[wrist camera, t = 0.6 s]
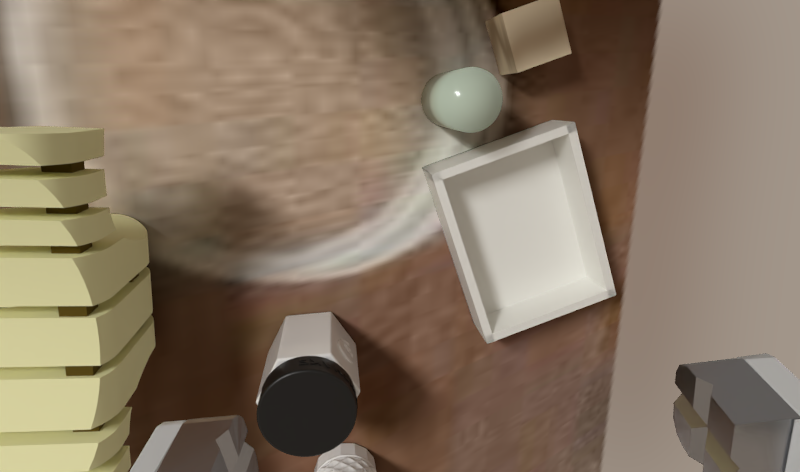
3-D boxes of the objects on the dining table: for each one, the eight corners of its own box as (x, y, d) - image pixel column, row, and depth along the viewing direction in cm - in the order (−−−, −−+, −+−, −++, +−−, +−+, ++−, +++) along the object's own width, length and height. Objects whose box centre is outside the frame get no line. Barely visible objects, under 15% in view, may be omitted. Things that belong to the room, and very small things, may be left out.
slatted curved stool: (171, 418, 54) (98, 565, 37) (3, 423, 52) (-156, 581, 35) (151, 122, 47) (49, 135, 30) (-45, 114, 45) (-277, 123, 28)
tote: (422, 167, 51) (431, 174, 46) (552, 119, 51) (574, 121, 47) (473, 322, 56) (487, 343, 51) (592, 278, 56) (616, 295, 52)
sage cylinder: (414, 82, 49) (431, 79, 40) (464, 64, 49) (492, 57, 41) (430, 134, 50) (451, 141, 42) (479, 116, 51) (509, 120, 42)
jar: (369, 358, 55) (379, 426, 44) (305, 399, 56) (298, 478, 44) (320, 293, 53) (317, 347, 41) (253, 337, 53) (232, 402, 42)
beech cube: (484, 21, 49) (501, 13, 44) (535, 3, 49) (557, -7, 44) (499, 75, 50) (517, 72, 45) (548, 57, 50) (571, 53, 45)
